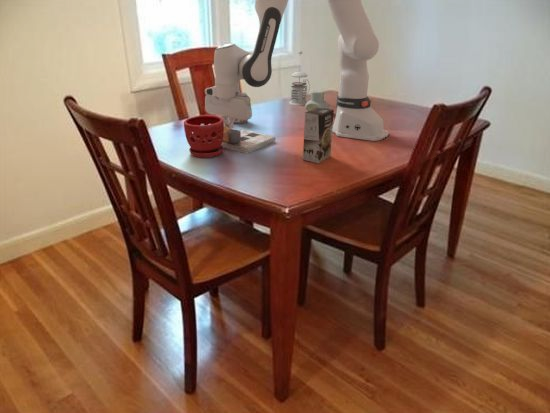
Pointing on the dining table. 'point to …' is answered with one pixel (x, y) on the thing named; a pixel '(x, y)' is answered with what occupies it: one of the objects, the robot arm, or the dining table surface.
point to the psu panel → (249, 142)
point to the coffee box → (318, 134)
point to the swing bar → (231, 135)
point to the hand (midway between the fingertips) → (229, 128)
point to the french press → (299, 89)
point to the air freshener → (316, 101)
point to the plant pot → (204, 135)
